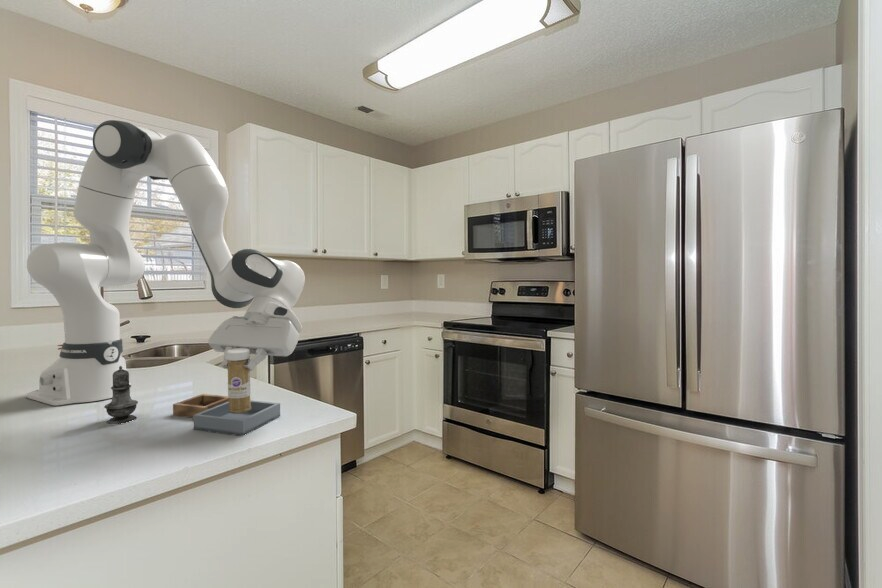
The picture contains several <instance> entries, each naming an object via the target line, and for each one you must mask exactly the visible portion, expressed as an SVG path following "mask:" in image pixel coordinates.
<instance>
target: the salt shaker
mask: <svg viewBox="0 0 882 588" xmlns="http://www.w3.org/2000/svg"><path fill="white" fill-rule="evenodd" d="M122 368H123V367H122V366H120V367H119V370H118V371H115V372H114V373H113V387H111V389H112V390H113V397H112V398H111V402H109V403H107V404H105V405H104V408H103V409H106V411H105V412H106V413H107V415H108V416H110V419H108V420H107V421H106V424H107V425H110V424H117V425H122V424H121V423H124V424H127V423H126V422H128V423H130V422H129V421H132V420H134V419H136V418H137V416H136V415H133V413H134V412H135V411H136V409H137V405H138V403H139V401H138V400H135V399H132V397H131V394H130V393H131V391H130V388H131V387H132V384H131V385H129V382H130V373H129V371H128V370H127V369H126V370H127V371H126V370H123V369H122ZM136 420H137V419H136ZM134 421H135V420H134ZM132 422H133V421H132Z"/></svg>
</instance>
